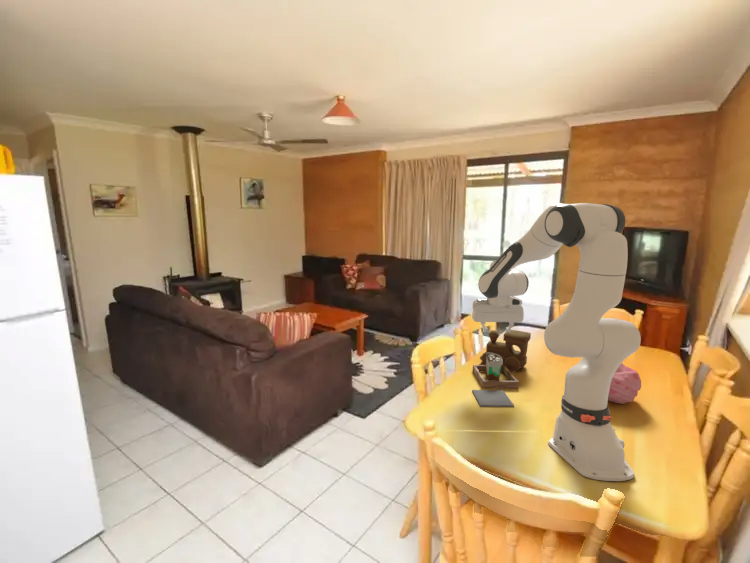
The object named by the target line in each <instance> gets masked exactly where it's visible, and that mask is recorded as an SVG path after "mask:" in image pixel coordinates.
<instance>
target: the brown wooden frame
mask: <svg viewBox="0 0 750 563" xmlns="http://www.w3.org/2000/svg"><path fill="white" fill-rule="evenodd" d="M479 371H486V365H485V364H473V365H472V372H473V374H474V373H475V374H474V376H475V375H476V376H475V378H476V379H477V380H479V381H478V382H479V384H480V386H481V385H482V386H481V388H482V389H483V388H486V389H485V390H505V389H507V390H516V389H517V390H518V389H519V387H520V381H519V380H518V379H517V378H516V377H515V376H514V375H513V372H512V371H509V370H508V369H507V367H506V366H505V365H504V364H502V365H501V370H500V373H503V374H504V376H505V377H506V378H507V379H508V380H499V381H490V380H487V379H485V378H484V376H483V374H482V372H479Z"/></svg>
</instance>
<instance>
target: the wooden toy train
mask: <svg viewBox="0 0 750 563" xmlns="http://www.w3.org/2000/svg"><path fill="white" fill-rule="evenodd" d="M531 335H532V333H531V332H528V331H523V330H516V329H511V332H506V331H505V332H504V334H503V337H502V338H503V341H502V342H501V341H497V340H498V338H499V337H500V335H499V333H498V331H497V330H494V329H493V330H492V329H491V331H490V332H488V337H489V339H490V340H489V341H488V342H487V343H486V349H485V352H483V353H482V354H481V356H480V357H479V360H480V361H481V362H482V363H483V365H486V353H487V352H490V353H495V354H498V355H500V356H501V357H502V360H503V364H502V365H505V366H506V367H507V369H508V370H509V371H510V372H511V373H513V372H514V373H515V372H518V371H519V370H520V369H524V368H525V366H526V365H527V363H528V362H527V361H528V356H527V352H528V348H529V347H528V346H529V342H530V340H531ZM514 346H516V347H518V348H519V350H516V349H515V348H514Z"/></svg>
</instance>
